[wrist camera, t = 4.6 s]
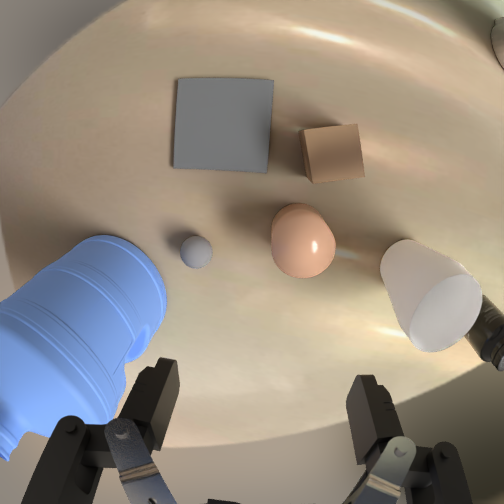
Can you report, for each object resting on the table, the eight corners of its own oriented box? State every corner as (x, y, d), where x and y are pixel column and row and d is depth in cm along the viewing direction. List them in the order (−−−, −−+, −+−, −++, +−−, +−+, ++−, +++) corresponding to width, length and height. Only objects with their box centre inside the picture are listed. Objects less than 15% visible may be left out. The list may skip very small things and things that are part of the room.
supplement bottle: (447, 326, 37) (483, 377, 25) (469, 288, 34) (513, 334, 23) (472, 331, 37) (506, 377, 26) (492, 297, 34) (533, 338, 23)
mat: (180, 79, 27) (178, 78, 26) (273, 81, 27) (273, 80, 26) (175, 167, 31) (173, 168, 30) (266, 172, 30) (266, 173, 30)
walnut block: (298, 131, 29) (303, 129, 24) (343, 125, 28) (357, 123, 23) (306, 176, 30) (312, 183, 26) (350, 170, 30) (364, 177, 25)
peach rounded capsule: (273, 200, 32) (274, 214, 26) (328, 206, 31) (340, 221, 26) (269, 252, 34) (268, 275, 28) (320, 256, 34) (329, 280, 28)
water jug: (56, 253, 36) (-81, 369, 10) (136, 215, 33) (-52, 373, 7) (104, 339, 41) (18, 480, 15) (188, 322, 38) (115, 521, 12)
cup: (363, 244, 33) (402, 296, 22) (426, 219, 31) (483, 257, 20) (378, 304, 36) (410, 366, 24) (435, 280, 34) (481, 330, 23)
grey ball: (184, 230, 33) (175, 241, 30) (215, 232, 33) (209, 244, 30) (185, 259, 35) (176, 272, 31) (214, 262, 35) (209, 275, 31)
